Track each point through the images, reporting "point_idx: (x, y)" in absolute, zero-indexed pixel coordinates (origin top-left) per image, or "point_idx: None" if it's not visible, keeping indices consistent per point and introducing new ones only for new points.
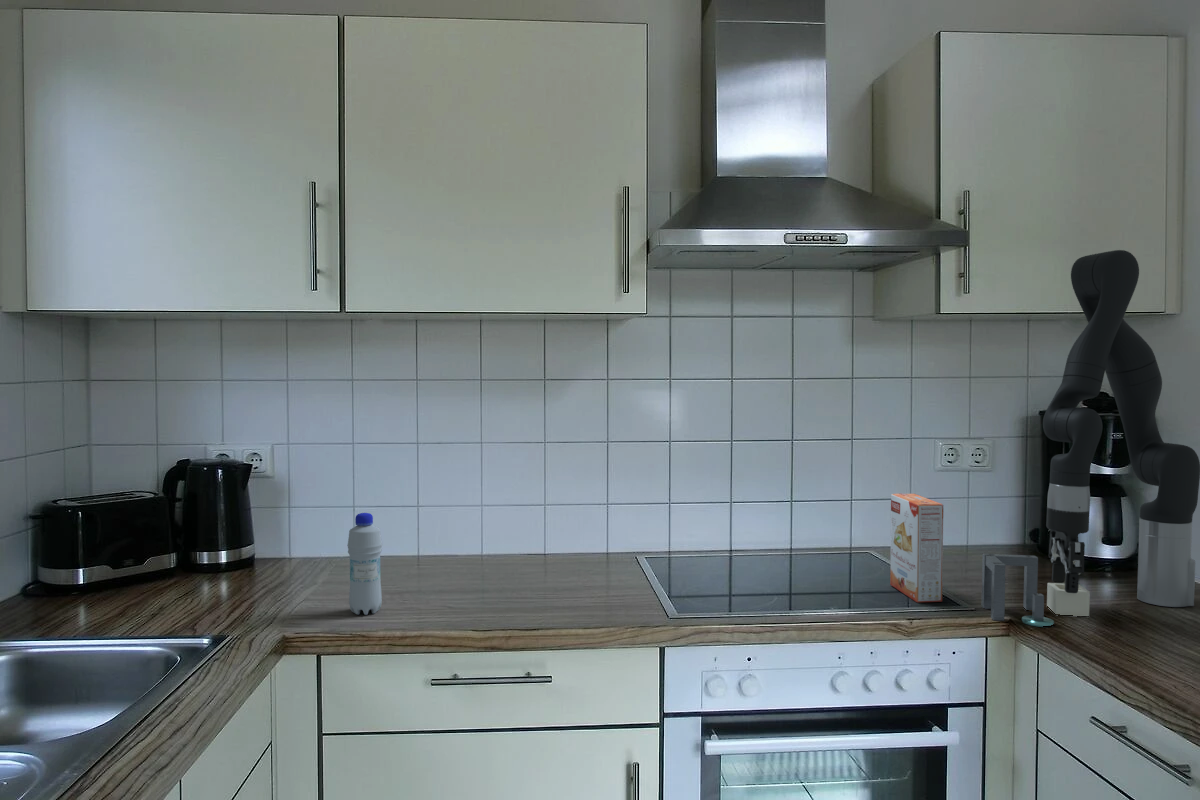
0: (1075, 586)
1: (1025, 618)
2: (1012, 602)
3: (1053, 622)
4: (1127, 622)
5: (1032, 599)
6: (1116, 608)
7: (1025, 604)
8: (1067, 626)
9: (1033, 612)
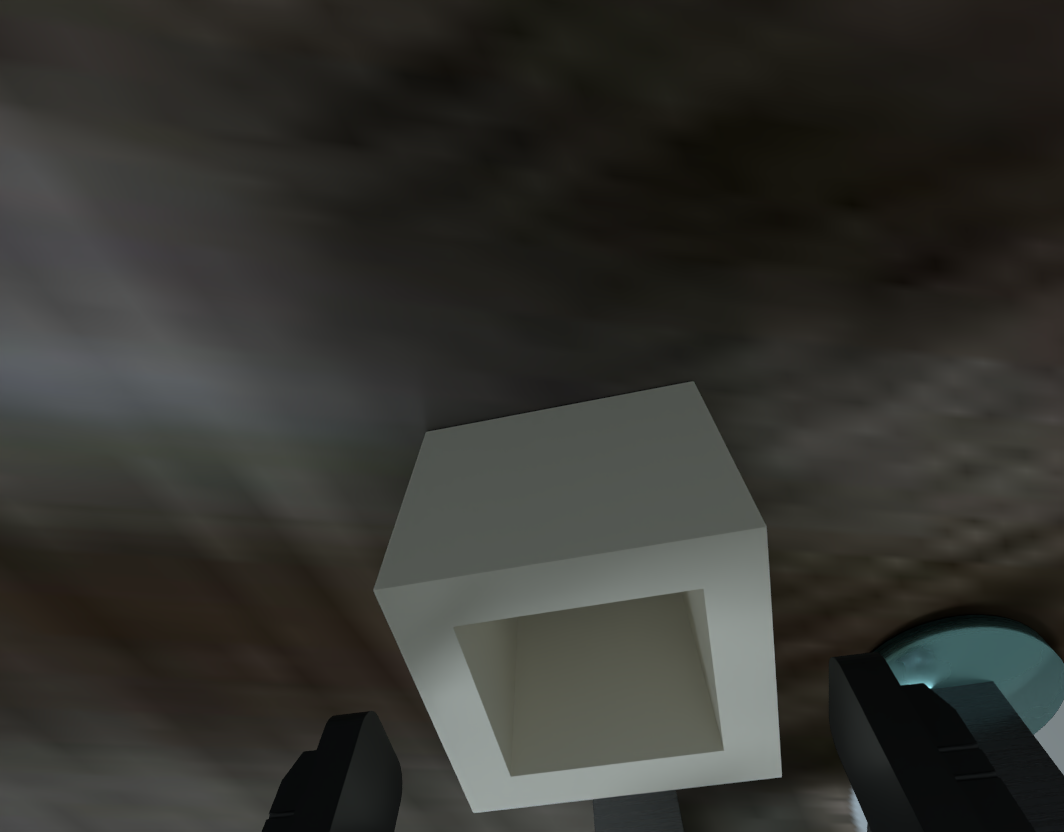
0: (972, 748)
1: None
2: None
3: (1020, 635)
4: (786, 31)
5: None
6: (198, 76)
7: None
8: (1013, 544)
9: None
